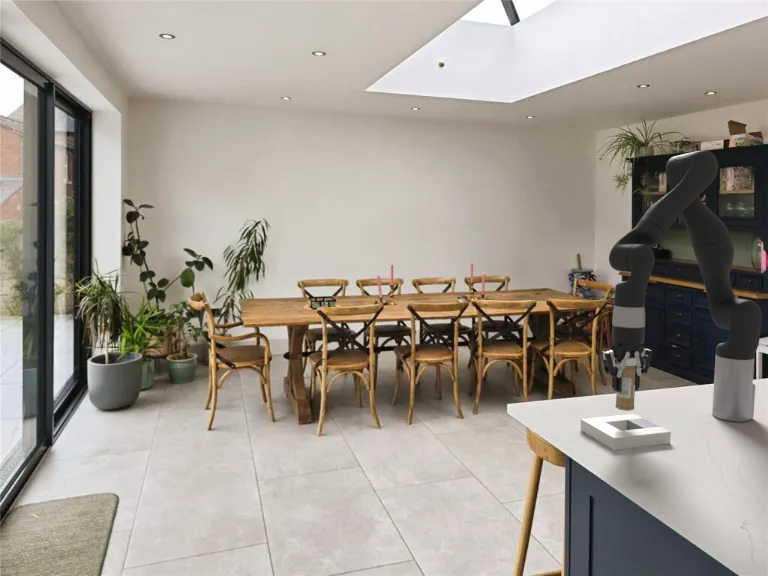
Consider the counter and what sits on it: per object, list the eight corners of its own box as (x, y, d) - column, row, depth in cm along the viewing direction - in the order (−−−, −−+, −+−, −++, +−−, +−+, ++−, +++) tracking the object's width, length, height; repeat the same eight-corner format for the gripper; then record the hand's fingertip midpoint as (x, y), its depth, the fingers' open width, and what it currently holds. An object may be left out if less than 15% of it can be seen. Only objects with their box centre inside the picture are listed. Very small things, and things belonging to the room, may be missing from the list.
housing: (633, 424, 160) (633, 413, 160) (670, 443, 147) (670, 431, 146) (580, 430, 156) (580, 419, 156) (613, 450, 143) (614, 438, 142)
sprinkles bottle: (638, 409, 150) (640, 357, 148) (627, 412, 148) (629, 359, 146) (622, 404, 154) (624, 353, 152) (611, 407, 151) (613, 355, 150)
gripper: (643, 319, 153) (640, 384, 155) (594, 322, 150) (591, 388, 152) (663, 324, 146) (659, 392, 148) (612, 327, 143) (609, 396, 145)
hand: (625, 390), depth 150 cm, fingers closed on sprinkles bottle, 4 cm apart
